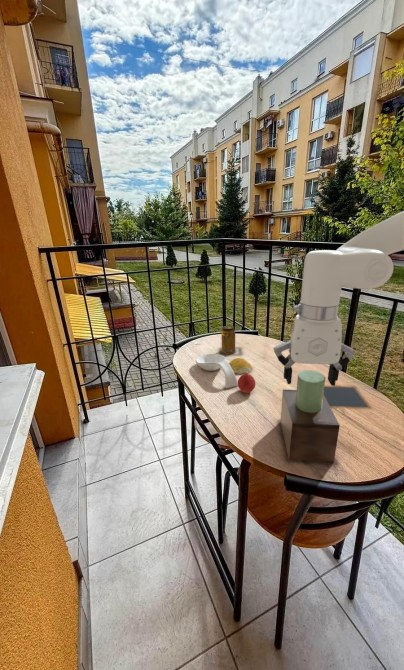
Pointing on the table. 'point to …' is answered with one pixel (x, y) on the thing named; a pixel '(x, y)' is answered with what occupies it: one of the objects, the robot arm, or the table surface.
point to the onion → (246, 383)
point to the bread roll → (240, 365)
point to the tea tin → (310, 391)
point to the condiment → (228, 340)
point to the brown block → (308, 431)
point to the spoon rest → (216, 362)
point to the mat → (343, 397)
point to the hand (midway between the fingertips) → (309, 381)
